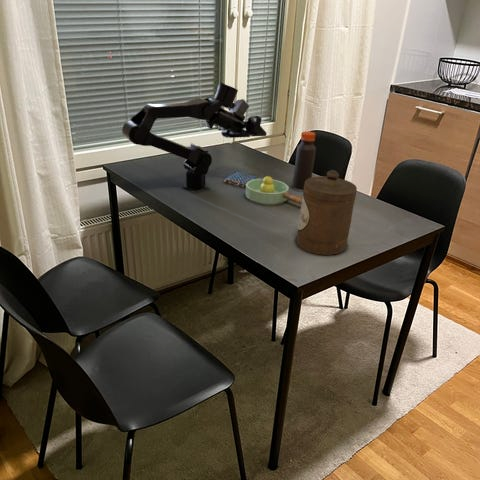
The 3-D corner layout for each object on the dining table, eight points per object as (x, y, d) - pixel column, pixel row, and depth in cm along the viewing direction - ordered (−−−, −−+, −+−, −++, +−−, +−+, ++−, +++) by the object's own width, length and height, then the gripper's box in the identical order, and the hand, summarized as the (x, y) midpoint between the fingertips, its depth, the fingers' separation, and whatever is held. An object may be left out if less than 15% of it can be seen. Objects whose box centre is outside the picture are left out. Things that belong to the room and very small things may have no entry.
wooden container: (303, 229, 154) (313, 159, 141) (350, 239, 150) (365, 168, 138) (290, 248, 143) (300, 174, 130) (340, 260, 139) (355, 184, 126)
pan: (268, 208, 166) (270, 197, 164) (236, 195, 174) (237, 184, 172) (295, 198, 176) (297, 187, 173) (264, 186, 184) (265, 175, 181)
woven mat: (246, 189, 180) (247, 184, 179) (222, 183, 184) (222, 177, 183) (259, 181, 188) (260, 176, 187) (235, 175, 192) (236, 170, 191)
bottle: (301, 192, 181) (308, 136, 170) (288, 186, 185) (295, 131, 174) (313, 189, 185) (322, 134, 173) (300, 183, 189) (308, 129, 178)
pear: (267, 199, 172) (269, 176, 167) (256, 195, 174) (258, 172, 170) (276, 196, 175) (278, 173, 170) (265, 192, 177) (267, 169, 173)
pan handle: (309, 208, 163) (310, 203, 162) (281, 198, 169) (282, 192, 168) (313, 207, 164) (314, 201, 163) (285, 196, 170) (285, 191, 169)
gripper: (247, 93, 162) (280, 110, 172) (214, 98, 176) (247, 114, 186) (239, 127, 163) (272, 142, 173) (207, 129, 177) (240, 144, 187)
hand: (257, 135), depth 180 cm, fingers open, 9 cm apart
